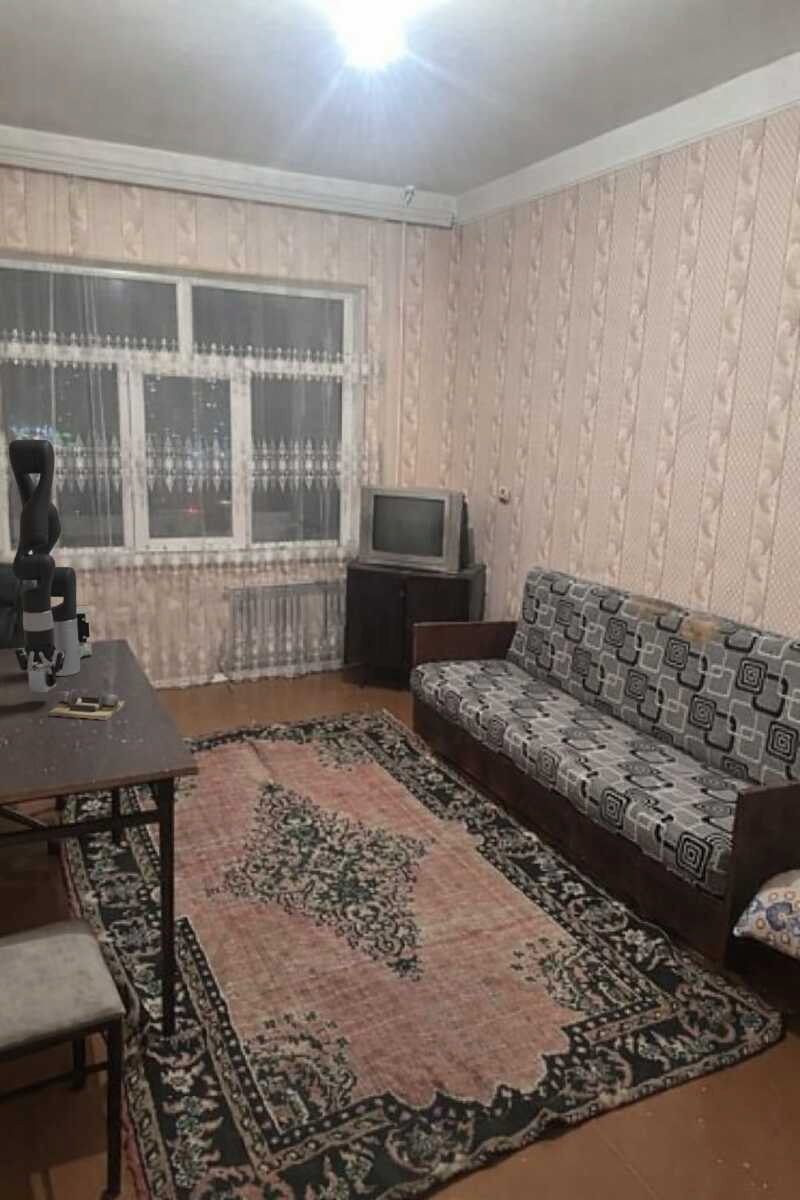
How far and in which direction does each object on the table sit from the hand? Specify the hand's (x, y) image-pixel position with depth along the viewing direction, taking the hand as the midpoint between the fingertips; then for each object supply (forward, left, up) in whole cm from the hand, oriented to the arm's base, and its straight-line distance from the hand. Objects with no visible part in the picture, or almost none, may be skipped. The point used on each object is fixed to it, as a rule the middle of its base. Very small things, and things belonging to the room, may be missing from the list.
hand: (42, 685), depth 232 cm
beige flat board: (+4, +15, -5) cm, 16 cm away
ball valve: (-44, -13, -5) cm, 47 cm away
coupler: (0, 0, -1) cm, 1 cm away
